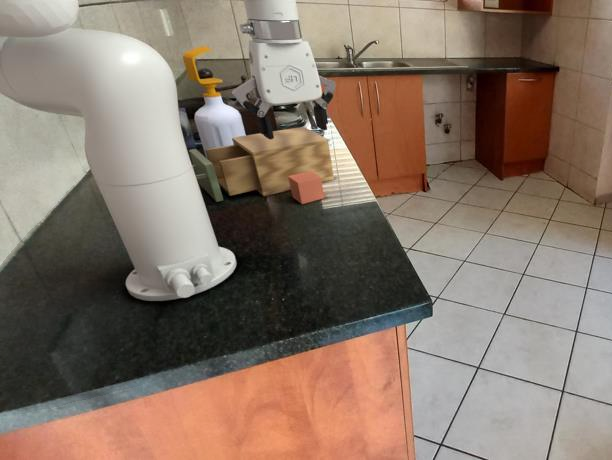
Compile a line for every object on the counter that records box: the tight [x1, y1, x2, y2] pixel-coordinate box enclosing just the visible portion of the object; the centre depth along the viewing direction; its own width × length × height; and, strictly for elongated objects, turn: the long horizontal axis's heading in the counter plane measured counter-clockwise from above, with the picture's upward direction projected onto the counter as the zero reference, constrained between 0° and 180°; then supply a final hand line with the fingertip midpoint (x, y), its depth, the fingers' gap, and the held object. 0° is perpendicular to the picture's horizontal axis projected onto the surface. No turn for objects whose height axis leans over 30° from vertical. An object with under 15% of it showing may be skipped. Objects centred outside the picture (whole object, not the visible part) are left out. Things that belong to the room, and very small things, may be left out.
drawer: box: [188, 144, 261, 202], centre depth 83 cm, size 19×11×7 cm, turn 136°
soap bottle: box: [182, 45, 246, 159], centre depth 97 cm, size 9×9×25 cm
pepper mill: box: [197, 67, 279, 135], centre depth 111 cm, size 16×11×18 cm
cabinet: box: [232, 126, 335, 197], centre depth 91 cm, size 15×12×9 cm
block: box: [288, 171, 325, 205], centre depth 84 cm, size 4×4×4 cm
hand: (296, 132), depth 79 cm, fingers open, 9 cm apart
